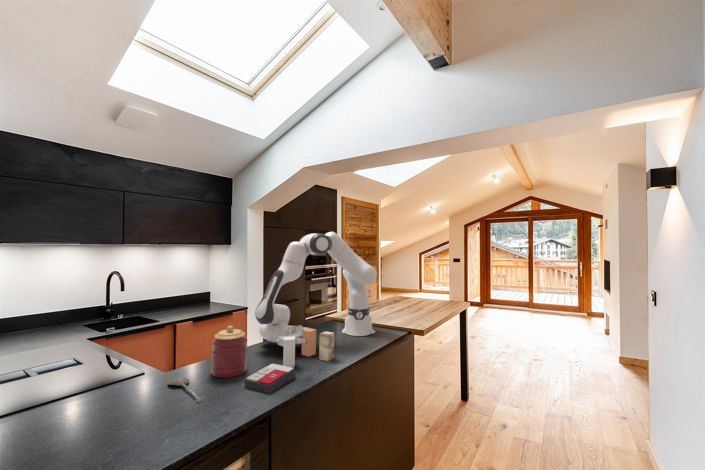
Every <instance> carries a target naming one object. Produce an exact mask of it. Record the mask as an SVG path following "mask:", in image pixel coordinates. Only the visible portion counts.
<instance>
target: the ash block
mask: <svg viewBox="0 0 705 470" xmlns="http://www.w3.org/2000/svg"><path fill="white" fill-rule="evenodd" d="M318 341H319V345H318V347H319V351H318V353H319V356H318V358H319V359H318V360H321V361H326V362H329V361H330V360H333V359H334V355H335V350H334V349H335V332H331V331H323V332H320V333H319V340H318Z"/></svg>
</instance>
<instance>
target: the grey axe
mask: <svg viewBox="0 0 705 470" xmlns="http://www.w3.org/2000/svg"><path fill="white" fill-rule="evenodd" d="M189 382H190V378H188V377H177V378H174V379H172V380H170V382H168V383H167V385H169V386H170V385H171V386H180V387H183V388H185V389H186V390H188V392H190V393H191V394H192V395H193V397H194V399H195V404H197V403H201V402H202V400H203V399H202V398H201V397H199V395H197V394H196V393H195V392H194V391H193V390H192V389H191V388H190V387H189V386H188V385H187V384H188V383H189Z"/></svg>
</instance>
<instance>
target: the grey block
mask: <svg viewBox="0 0 705 470" xmlns="http://www.w3.org/2000/svg"><path fill="white" fill-rule="evenodd" d="M282 348H283V350H282V351H283V354H282V356H283V357H282V359H283V360H282V366H287V367H292V368H295V367H296V366H295V365H296V361H295V360H296V344H295V336H293V337H284V344H283V346H282Z"/></svg>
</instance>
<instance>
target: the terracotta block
mask: <svg viewBox="0 0 705 470" xmlns="http://www.w3.org/2000/svg"><path fill="white" fill-rule="evenodd" d="M302 339H307V343H305V344H303V343H301V355H302V356H306V357H312V356H314V355H317V352H316V351H317V350H316V349H317V329H316V328H310V327H307V329H304V330H302Z"/></svg>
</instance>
